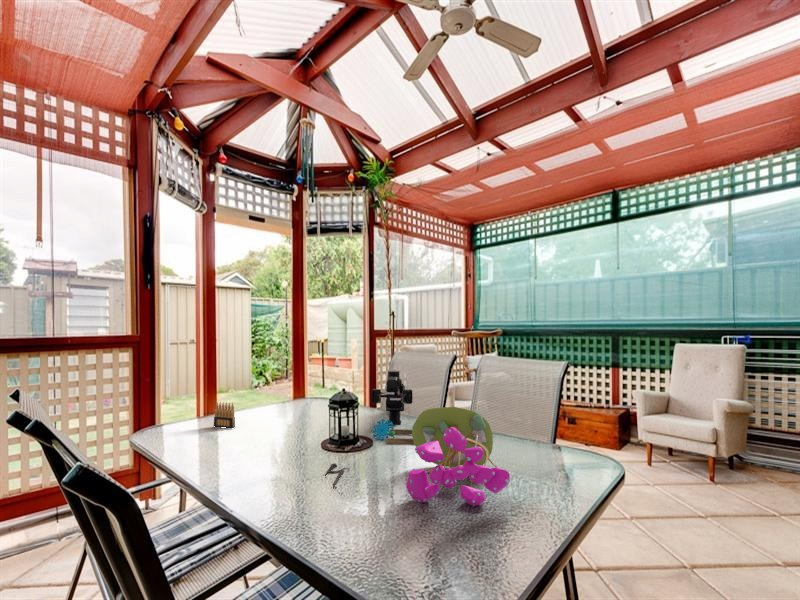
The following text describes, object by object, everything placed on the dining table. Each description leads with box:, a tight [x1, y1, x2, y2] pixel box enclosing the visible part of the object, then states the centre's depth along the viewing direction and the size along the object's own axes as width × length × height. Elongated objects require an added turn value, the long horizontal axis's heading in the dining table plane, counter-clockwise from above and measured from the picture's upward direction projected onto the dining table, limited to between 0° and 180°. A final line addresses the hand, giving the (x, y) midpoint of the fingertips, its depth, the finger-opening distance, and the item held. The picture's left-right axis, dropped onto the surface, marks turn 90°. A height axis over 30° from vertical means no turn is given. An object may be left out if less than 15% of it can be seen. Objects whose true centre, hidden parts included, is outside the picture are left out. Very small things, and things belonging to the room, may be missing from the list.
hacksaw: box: [324, 463, 350, 495], centre depth 119 cm, size 24×10×2 cm, turn 173°
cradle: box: [386, 428, 415, 445], centre depth 162 cm, size 14×20×3 cm
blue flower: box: [371, 418, 396, 441], centre depth 164 cm, size 11×6×10 cm
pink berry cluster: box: [405, 406, 511, 507], centre depth 112 cm, size 30×28×35 cm
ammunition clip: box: [213, 401, 236, 429], centre depth 179 cm, size 11×2×12 cm, turn 75°
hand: (390, 400), depth 163 cm, fingers open, 9 cm apart
